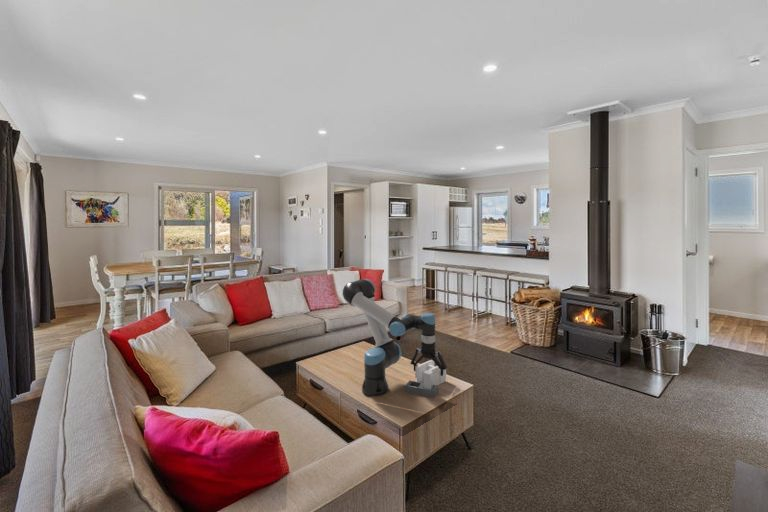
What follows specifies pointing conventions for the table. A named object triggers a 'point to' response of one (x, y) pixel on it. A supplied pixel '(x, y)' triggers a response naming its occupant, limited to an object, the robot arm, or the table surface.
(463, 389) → the table surface
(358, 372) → the table surface
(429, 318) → the robot arm
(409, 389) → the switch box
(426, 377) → the plug
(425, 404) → the table surface
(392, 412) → the table surface
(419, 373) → the cable organizer
